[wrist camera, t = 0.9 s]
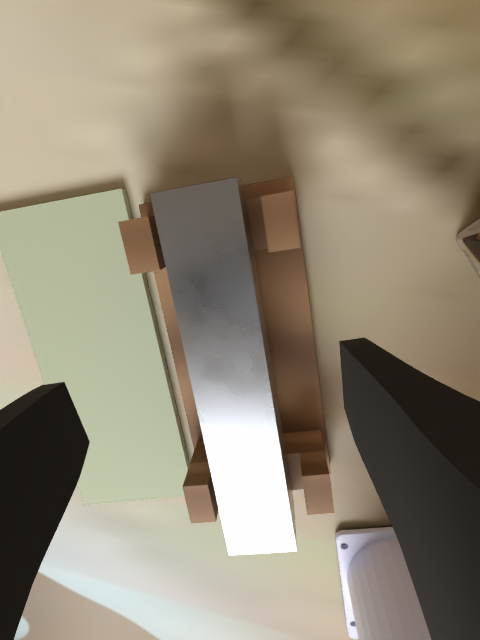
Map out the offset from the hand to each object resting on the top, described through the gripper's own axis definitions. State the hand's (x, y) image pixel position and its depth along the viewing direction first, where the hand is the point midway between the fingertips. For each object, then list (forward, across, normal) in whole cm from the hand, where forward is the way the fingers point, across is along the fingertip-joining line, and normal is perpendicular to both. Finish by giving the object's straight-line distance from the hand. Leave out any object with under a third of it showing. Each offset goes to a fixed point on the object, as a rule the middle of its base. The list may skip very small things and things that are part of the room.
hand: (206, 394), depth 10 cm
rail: (+10, 0, +5) cm, 11 cm away
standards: (+13, 0, +5) cm, 14 cm away
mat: (+13, +9, +6) cm, 17 cm away
